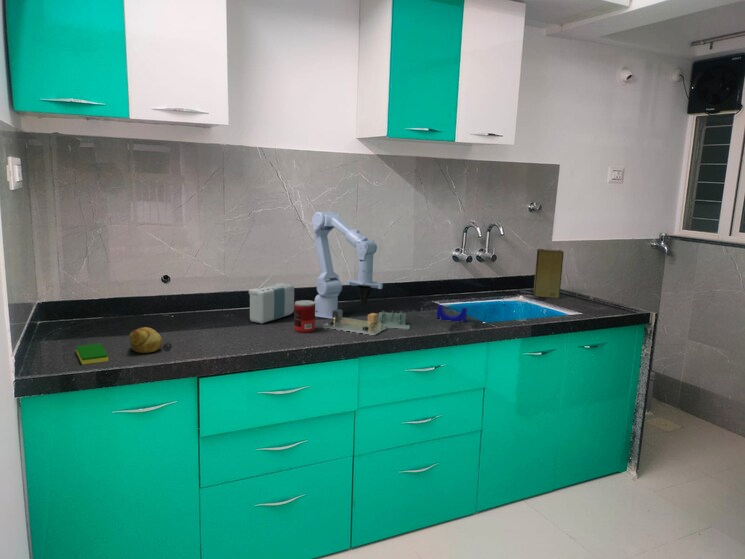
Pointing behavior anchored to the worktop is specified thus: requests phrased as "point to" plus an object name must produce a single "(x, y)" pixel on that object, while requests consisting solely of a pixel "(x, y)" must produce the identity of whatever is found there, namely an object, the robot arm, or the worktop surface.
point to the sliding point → (372, 318)
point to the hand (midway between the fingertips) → (364, 304)
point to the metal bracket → (393, 320)
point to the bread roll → (145, 340)
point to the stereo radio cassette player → (271, 302)
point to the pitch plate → (353, 324)
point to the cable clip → (453, 318)
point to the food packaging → (548, 273)
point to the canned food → (304, 316)
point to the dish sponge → (91, 354)
